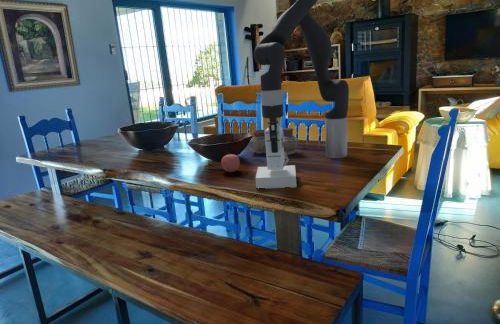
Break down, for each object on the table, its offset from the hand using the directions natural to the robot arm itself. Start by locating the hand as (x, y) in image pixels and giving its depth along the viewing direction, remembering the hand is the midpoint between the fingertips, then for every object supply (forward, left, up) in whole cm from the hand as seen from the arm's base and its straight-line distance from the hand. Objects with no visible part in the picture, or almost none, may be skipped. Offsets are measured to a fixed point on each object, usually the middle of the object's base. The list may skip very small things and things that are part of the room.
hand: (275, 150), depth 132 cm
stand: (0, 0, -12) cm, 12 cm away
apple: (-16, -19, -12) cm, 28 cm away
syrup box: (0, 0, -7) cm, 7 cm away
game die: (-17, +1, -12) cm, 21 cm away
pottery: (-46, -2, -12) cm, 48 cm away
